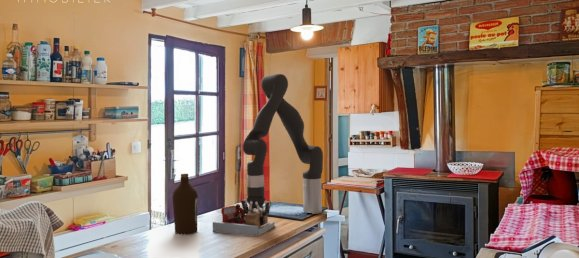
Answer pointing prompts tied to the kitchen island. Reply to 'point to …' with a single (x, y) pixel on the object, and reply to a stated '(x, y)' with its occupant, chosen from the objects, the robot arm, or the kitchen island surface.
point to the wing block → (254, 218)
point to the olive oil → (185, 207)
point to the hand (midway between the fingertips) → (256, 224)
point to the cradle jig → (241, 228)
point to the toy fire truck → (233, 214)
